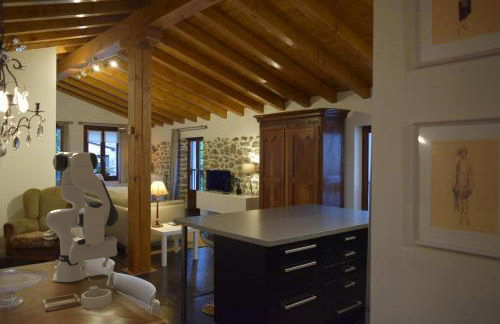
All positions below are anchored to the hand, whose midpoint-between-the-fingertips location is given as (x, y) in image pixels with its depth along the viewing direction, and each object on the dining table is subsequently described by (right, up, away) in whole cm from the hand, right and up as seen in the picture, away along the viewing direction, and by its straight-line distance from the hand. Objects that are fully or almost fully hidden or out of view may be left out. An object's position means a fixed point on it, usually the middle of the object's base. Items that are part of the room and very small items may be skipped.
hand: (93, 268), depth 168 cm
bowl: (+2, -16, -1) cm, 16 cm away
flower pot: (-3, -17, +12) cm, 21 cm away
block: (0, -12, -1) cm, 12 cm away
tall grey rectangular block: (+2, -16, -1) cm, 16 cm away
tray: (-14, -16, -1) cm, 22 cm away
